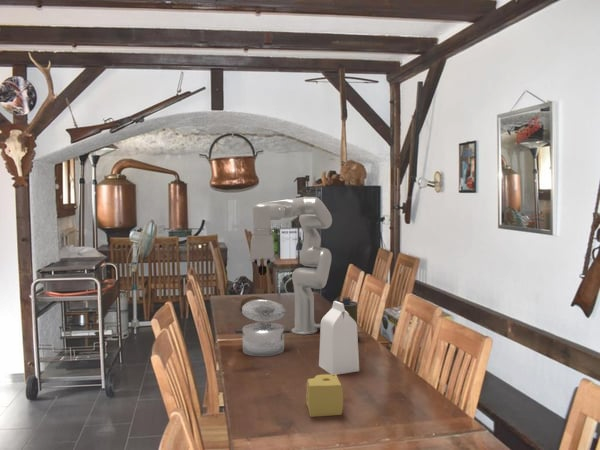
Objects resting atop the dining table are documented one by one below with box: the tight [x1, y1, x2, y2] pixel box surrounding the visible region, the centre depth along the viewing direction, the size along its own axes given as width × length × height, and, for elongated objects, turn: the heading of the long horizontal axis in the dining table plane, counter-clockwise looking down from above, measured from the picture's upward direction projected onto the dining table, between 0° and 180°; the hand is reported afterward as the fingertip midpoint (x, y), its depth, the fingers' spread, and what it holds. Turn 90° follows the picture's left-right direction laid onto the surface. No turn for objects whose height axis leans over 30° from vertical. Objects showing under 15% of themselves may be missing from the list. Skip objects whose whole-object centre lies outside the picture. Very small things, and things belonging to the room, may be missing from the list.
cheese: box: [305, 373, 344, 418], centre depth 170 cm, size 10×11×10 cm
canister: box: [338, 296, 359, 325], centre depth 249 cm, size 11×10×20 cm
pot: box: [235, 322, 292, 357], centre depth 235 cm, size 24×18×10 cm
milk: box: [318, 300, 360, 376], centre depth 210 cm, size 12×12×26 cm
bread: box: [240, 295, 266, 310], centre depth 310 cm, size 16×36×8 cm, turn 19°
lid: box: [241, 299, 286, 323], centre depth 238 cm, size 19×20×3 cm
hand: (262, 274), depth 234 cm, fingers closed
